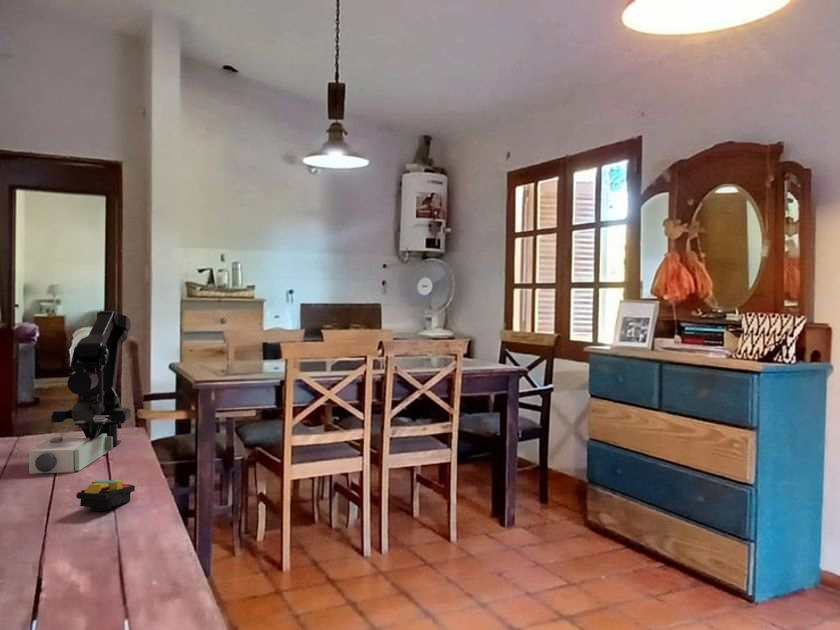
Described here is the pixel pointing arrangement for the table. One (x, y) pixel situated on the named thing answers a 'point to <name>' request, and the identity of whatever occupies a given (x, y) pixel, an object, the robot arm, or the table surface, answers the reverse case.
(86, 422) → the robot arm
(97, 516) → the table surface
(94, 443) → the side door
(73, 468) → the camera case
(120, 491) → the gadget
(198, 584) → the table surface
